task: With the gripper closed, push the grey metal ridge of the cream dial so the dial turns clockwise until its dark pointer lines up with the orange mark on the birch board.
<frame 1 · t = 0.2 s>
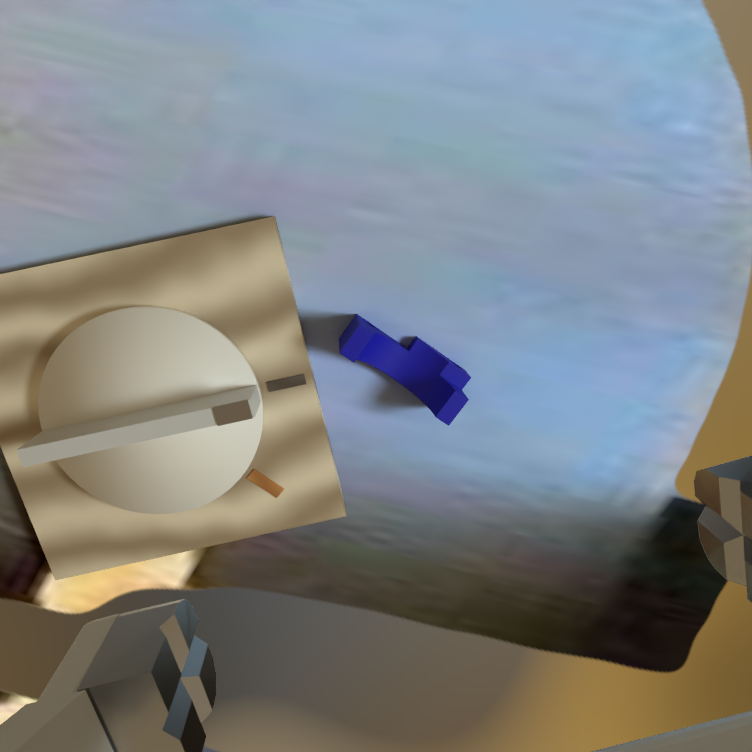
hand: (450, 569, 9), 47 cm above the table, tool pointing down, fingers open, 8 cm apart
dial board: (161, 405, 57), on the table
blue notched block: (402, 354, 57), on the table
dial: (146, 421, 52), point 5 cm above the table, hinge at 0.0°
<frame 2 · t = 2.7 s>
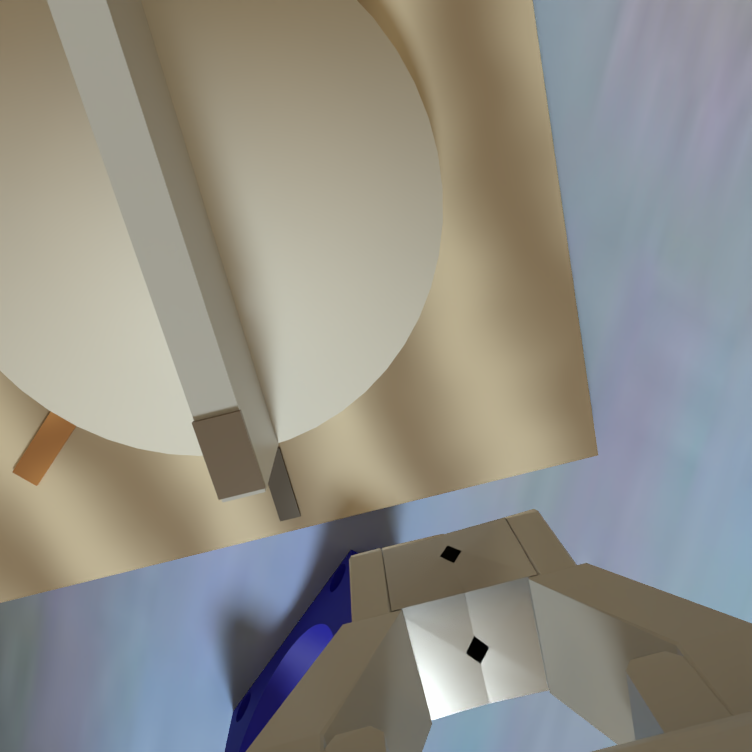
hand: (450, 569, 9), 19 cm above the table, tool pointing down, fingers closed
dial board: (203, 215, 25), on the table
blue notched block: (325, 646, 32), on the table
dial: (174, 215, 21), point 5 cm above the table, hinge at 0.0°
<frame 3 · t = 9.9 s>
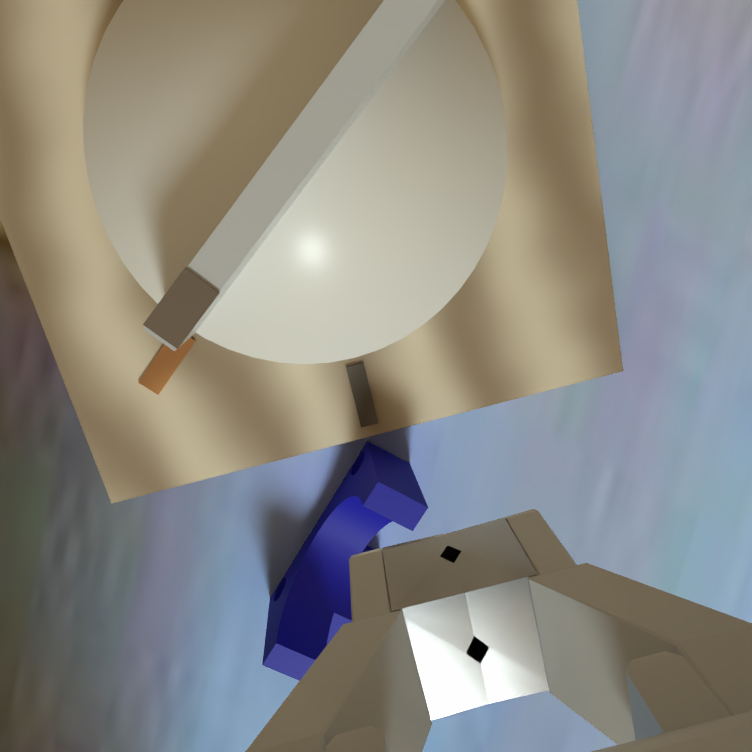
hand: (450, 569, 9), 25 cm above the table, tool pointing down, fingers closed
dial board: (304, 166, 31), on the table
blue notched block: (348, 534, 37), on the table
dial: (303, 155, 26), point 5 cm above the table, hinge at 52.1°
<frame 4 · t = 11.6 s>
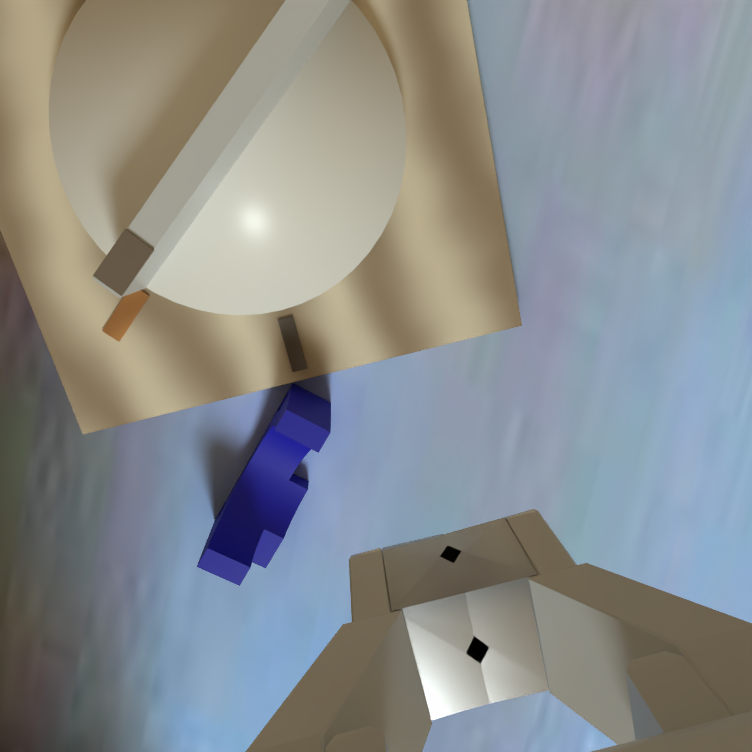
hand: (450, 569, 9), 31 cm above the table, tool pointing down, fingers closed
dial board: (240, 147, 36), on the table
blue notched block: (281, 465, 42), on the table
dial: (227, 137, 32), point 5 cm above the table, hinge at 52.1°
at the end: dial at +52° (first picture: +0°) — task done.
